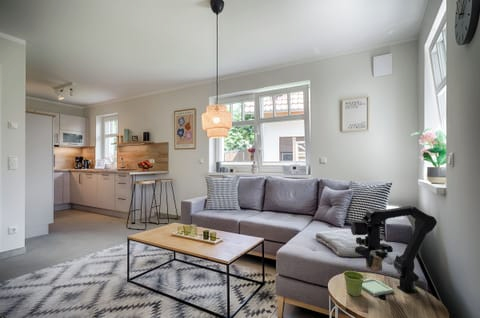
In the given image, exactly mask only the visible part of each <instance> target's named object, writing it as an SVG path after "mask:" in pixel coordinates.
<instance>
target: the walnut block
mask: <svg viewBox="0 0 480 318" xmlns="http://www.w3.org/2000/svg"><path fill="white" fill-rule="evenodd" d="M373 255H374V257H373V262H372V266H371V268H370V267H369V266H368V264H367V261H366V260H365V268H366V269H368V270H370V271H372V272H373V273H375V272H382V271H383V261H382V258H380V257H378V256H376V254H373Z"/></svg>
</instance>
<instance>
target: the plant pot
mask: <svg viewBox="0 0 480 318" xmlns="http://www.w3.org/2000/svg"><path fill="white" fill-rule="evenodd" d="M342 275H343V276H344V277H343V278H344V280H345V281H344V282H345V286H346V292H347V294H348V295H350V296H353V297H359V296H361V295H362V290H363V289H362V283H363V280H365V275H363V274H362V273H361V272H358V271H354V270H346V271H344V272H343V273H342Z"/></svg>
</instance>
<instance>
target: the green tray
mask: <svg viewBox="0 0 480 318" xmlns="http://www.w3.org/2000/svg"><path fill="white" fill-rule="evenodd" d="M361 290H363V291H364V292H366V293H368V294H370V295H371V296H372V297H377V296H381V295H382V296H384V295H389V294H392V293H394V288H392V287H390V286H388V285H386V284H385V283H383V282H382V281H380V280H378V279H376V278H375V277H370V278H366V279H364V280H363V283H362V289H361Z"/></svg>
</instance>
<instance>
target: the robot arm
mask: <svg viewBox="0 0 480 318" xmlns="http://www.w3.org/2000/svg"><path fill="white" fill-rule="evenodd" d="M406 216H410V217H412V218H413V219H414V230H413V232H412V233H411V234H412V235H411V237H410V238H409V241H408V243H407V245H406V248H405V249H404V251H403V254H401V255H399V254H397V255H395V259H394V260H393V269H395V270H396V272H397V274H398V275H399V282H398V283H399V284H398V285H397V286H396V287H397V289H400V290H401V291H403V292H405V293H407V294H413V293H418V292H419V290H418V289H416V282H418V281H419V279H420V277H419V276H418V275H417V273H415V267H416V266H415V259H416V258H417V254H418V253H419V251H420V248H421V247H422V244H423V242H424V240H425V238H426V236H427V234H429V233H430V232H432V231H433V230H434V229H435V227H436V226H437V224H438V220H436V218H435V216H433V215H429V214H427V213H425V212H423V211H422V210H420V209H418V208H417V207H416V206H412V205H406V206H402V207H401V206H400V207H395V208H393V207H392V208H388V209H377V208H376V209H374V208H372V209H371V208H369V209H368V210H366V212H365V215H364V216H363V217H362V218H361V221H356V220H352V224H351V226H350V232H351V234H352V235H353V236H365V237H364V238H362V237H355V238H356V239H355V242H356V245H359V246H356V247H355V249H354V252H355V253H356V254H358V255H360V256H362V257H364V259H365V262H366V261H367V264H368V266H369V267H370V268H371V266H372V262H373V257H374V255H376V256H378V257H380V258H382V262H383V260H384V259H385V258H386V256H388V254H389V253H393V250H394V249H393V246H392V245H390V244H387V243H383V238H381V228H386V225H385V224H383V223H382V222H385V221H386V220H388V219H394V218H401V217H406ZM381 242H382V243H381ZM373 252H374V253H375V254H372V253H373Z"/></svg>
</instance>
